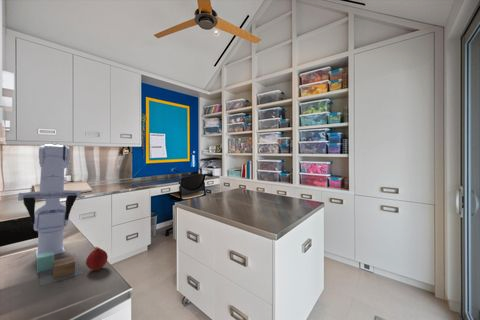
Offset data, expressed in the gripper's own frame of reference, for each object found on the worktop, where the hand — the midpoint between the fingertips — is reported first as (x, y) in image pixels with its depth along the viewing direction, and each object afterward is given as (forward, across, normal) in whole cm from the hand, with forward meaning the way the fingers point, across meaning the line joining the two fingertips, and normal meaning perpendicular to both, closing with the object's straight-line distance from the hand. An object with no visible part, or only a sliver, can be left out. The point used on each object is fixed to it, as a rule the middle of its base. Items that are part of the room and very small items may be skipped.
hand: (50, 221), depth 63 cm
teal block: (+14, 0, +14) cm, 19 cm away
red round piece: (+18, +12, +2) cm, 22 cm away
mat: (+16, +4, +7) cm, 18 cm away
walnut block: (+16, +4, +7) cm, 18 cm away
